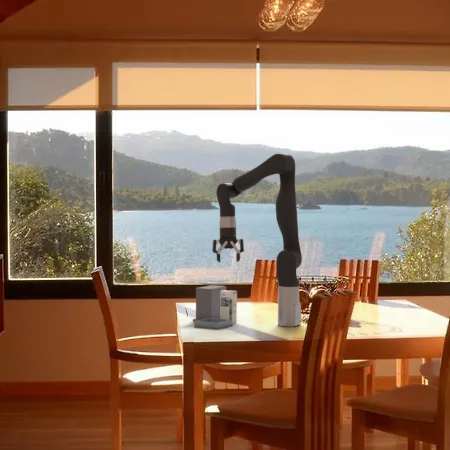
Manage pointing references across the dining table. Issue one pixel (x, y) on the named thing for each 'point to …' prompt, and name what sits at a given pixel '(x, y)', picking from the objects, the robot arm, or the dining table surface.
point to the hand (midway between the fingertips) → (228, 261)
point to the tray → (213, 323)
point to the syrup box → (228, 305)
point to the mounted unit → (208, 302)
